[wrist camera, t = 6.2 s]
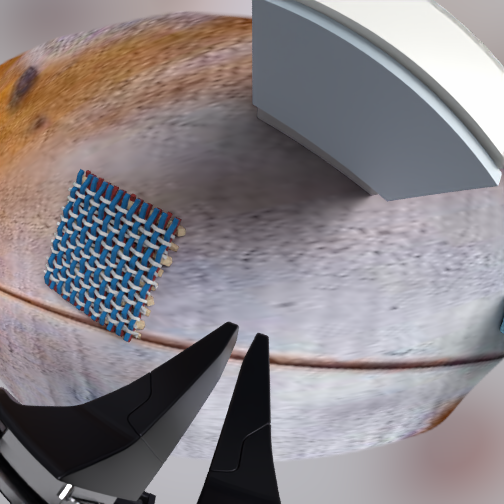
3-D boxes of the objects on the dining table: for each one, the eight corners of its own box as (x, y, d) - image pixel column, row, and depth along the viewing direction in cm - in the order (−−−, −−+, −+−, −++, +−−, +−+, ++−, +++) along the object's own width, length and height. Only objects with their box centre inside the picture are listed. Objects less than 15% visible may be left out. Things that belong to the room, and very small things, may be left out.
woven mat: (50, 280, 20) (36, 284, 18) (88, 168, 19) (74, 164, 17) (141, 342, 20) (131, 352, 18) (193, 222, 19) (186, 222, 17)
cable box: (371, 195, 19) (510, 166, 6) (256, 117, 18) (261, -21, 5) (398, 146, 18) (519, 87, 5) (292, 72, 18) (327, -58, 5)
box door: (387, 201, 15) (498, 185, 6) (252, 104, 15) (252, -5, 6) (391, 193, 15) (501, 173, 6) (258, 97, 15) (263, -13, 5)
